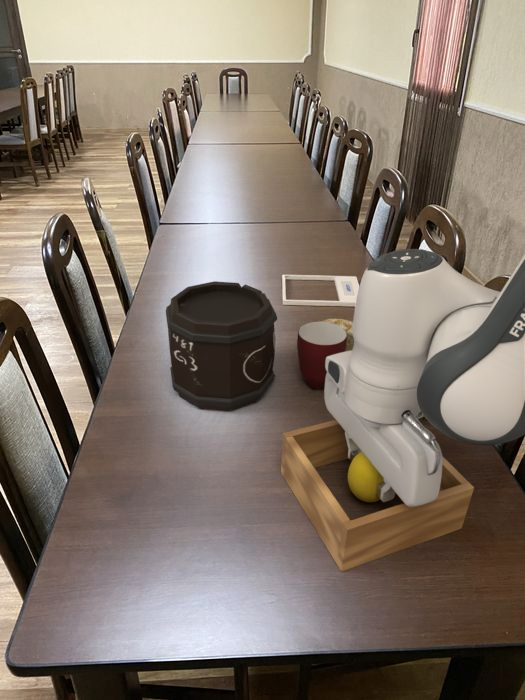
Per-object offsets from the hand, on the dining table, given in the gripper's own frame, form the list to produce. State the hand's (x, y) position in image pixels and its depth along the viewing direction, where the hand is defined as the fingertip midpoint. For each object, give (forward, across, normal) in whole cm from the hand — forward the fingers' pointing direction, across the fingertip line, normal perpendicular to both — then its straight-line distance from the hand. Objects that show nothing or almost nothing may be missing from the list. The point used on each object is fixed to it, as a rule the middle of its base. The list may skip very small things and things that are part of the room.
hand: (369, 477), depth 68 cm
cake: (+4, +37, -16) cm, 40 cm away
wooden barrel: (+4, +32, +9) cm, 33 cm away
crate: (+4, 0, 0) cm, 4 cm away
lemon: (+4, 0, 0) cm, 4 cm away
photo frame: (+4, +59, -24) cm, 64 cm away
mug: (+4, +25, -7) cm, 26 cm away
